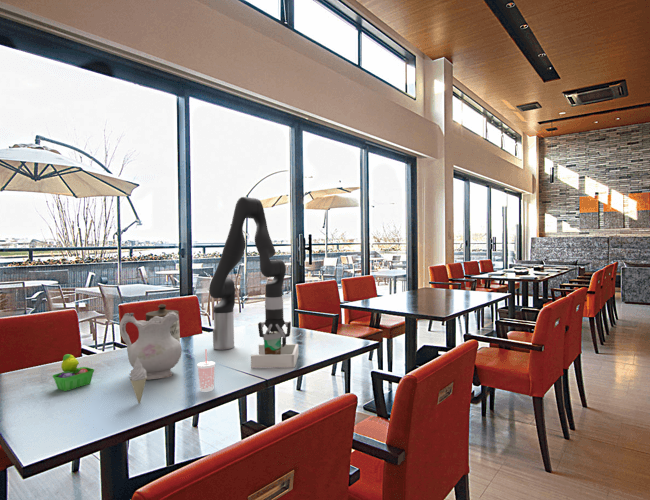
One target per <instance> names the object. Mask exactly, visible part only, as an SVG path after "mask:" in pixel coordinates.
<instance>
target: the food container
mask: <svg viewBox="0 0 650 500" xmlns="http://www.w3.org/2000/svg"><path fill="white" fill-rule="evenodd" d="M262 338H263V344H264V349H265V355H281V344H282V338H283V337H282V335H281V334H280V332H279V331H278V332H276V331H273V332H271V331H270V332H269V334H267V335H264V336H263V337H262Z"/></svg>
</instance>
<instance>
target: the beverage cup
mask: <svg viewBox="0 0 650 500" xmlns="http://www.w3.org/2000/svg"><path fill="white" fill-rule="evenodd" d="M207 349H208V348H205V352H204V354H205V361H201V362H198V363H197V364H196V366H197V369H198V370H197V371H198V380H199V381H198V382H199V383H198V384H199V391H200V392H203V393H208V392H212V391H213V390H215V389H214V387H215V370H216V369H215V366H216V361H211V360H208V352H207Z"/></svg>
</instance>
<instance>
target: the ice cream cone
mask: <svg viewBox="0 0 650 500" xmlns="http://www.w3.org/2000/svg"><path fill="white" fill-rule="evenodd" d="M129 376H130V377H129V381H130V382H131V386H132V389H133V391H134V395H135V397H136V401H137V403H138V404H141V402H142V397H143V394H144V391H145V390H144V389H145V387H146V386H145V385H146V382H147V380H146V378H147V376H146V370H145V369H144V368H143V367H142V364H141V363H140V361H139V359H138V357H137V359H136V361H135V364H134V366H133V367H132V369H131V370H130V373H129Z"/></svg>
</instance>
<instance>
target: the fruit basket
mask: <svg viewBox="0 0 650 500" xmlns="http://www.w3.org/2000/svg"><path fill="white" fill-rule="evenodd" d="M78 365H80V363H79V360H78V358H76V357H75V356H74V355H72V354H69V353H67V354H64V355H63V357H62V362H61V370H62V372H59V373H55V374H52V378H53V380H54V382H55V385H56V388H57V390H61V391H64V392H67V390H68V391H70V390H74V389H77V388H81V387H84V386H87V385H90V384H92V379H93V375H94V372H95V369H94V368H91V367H88V366H81V367H78ZM80 386H81V387H80ZM76 387H77V388H76ZM73 388H74V389H73Z"/></svg>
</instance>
